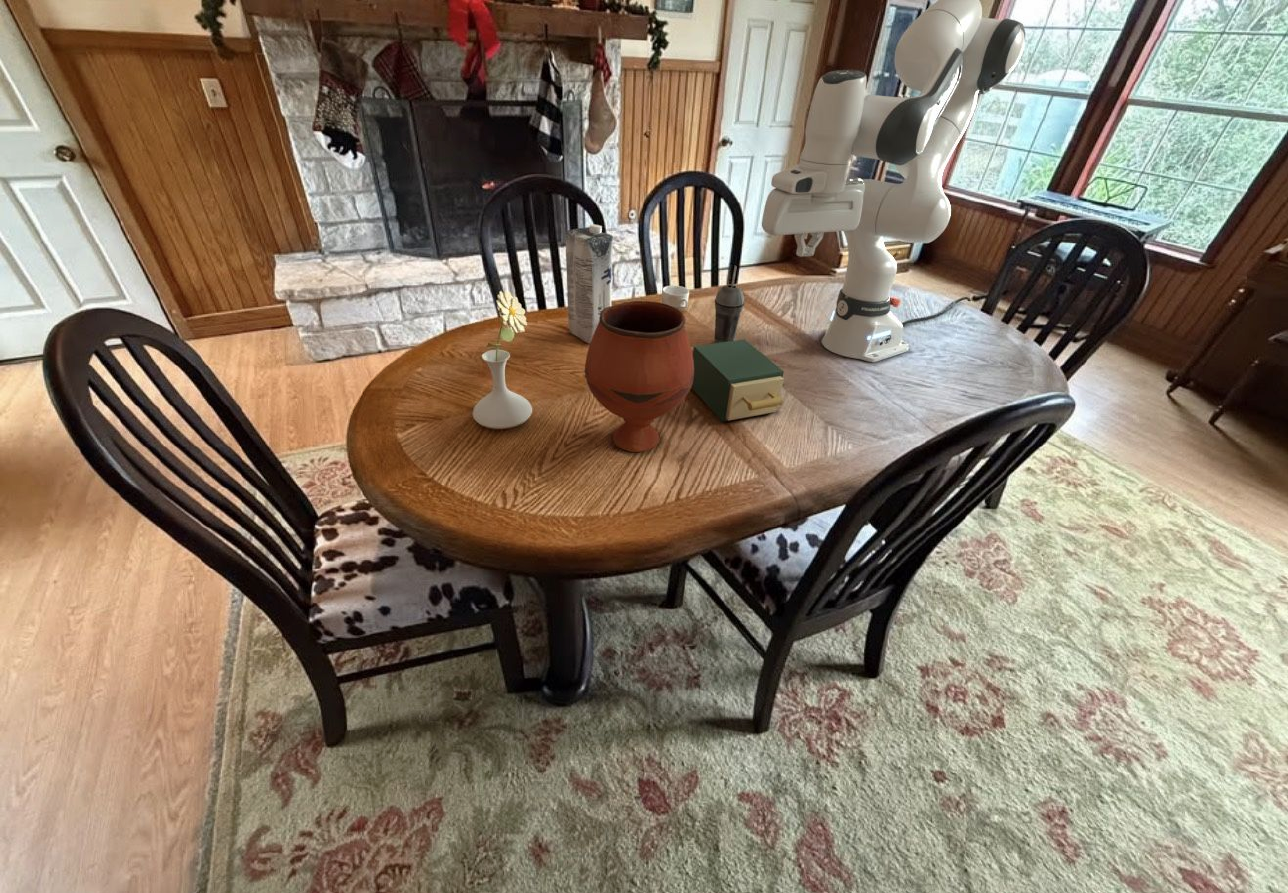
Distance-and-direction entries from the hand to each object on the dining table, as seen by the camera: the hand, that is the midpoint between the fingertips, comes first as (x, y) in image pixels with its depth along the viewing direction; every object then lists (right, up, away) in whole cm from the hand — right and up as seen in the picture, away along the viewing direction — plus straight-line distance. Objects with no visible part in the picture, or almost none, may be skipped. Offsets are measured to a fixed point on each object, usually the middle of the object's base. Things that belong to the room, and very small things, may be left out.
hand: (804, 255), depth 107 cm
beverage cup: (-11, -12, +33) cm, 37 cm away
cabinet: (-13, -27, +11) cm, 32 cm away
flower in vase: (-59, -32, +2) cm, 67 cm away
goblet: (-33, -36, -2) cm, 49 cm away
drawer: (-11, -28, +8) cm, 32 cm away
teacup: (-22, +2, +51) cm, 56 cm away
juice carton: (-46, -9, +34) cm, 58 cm away
